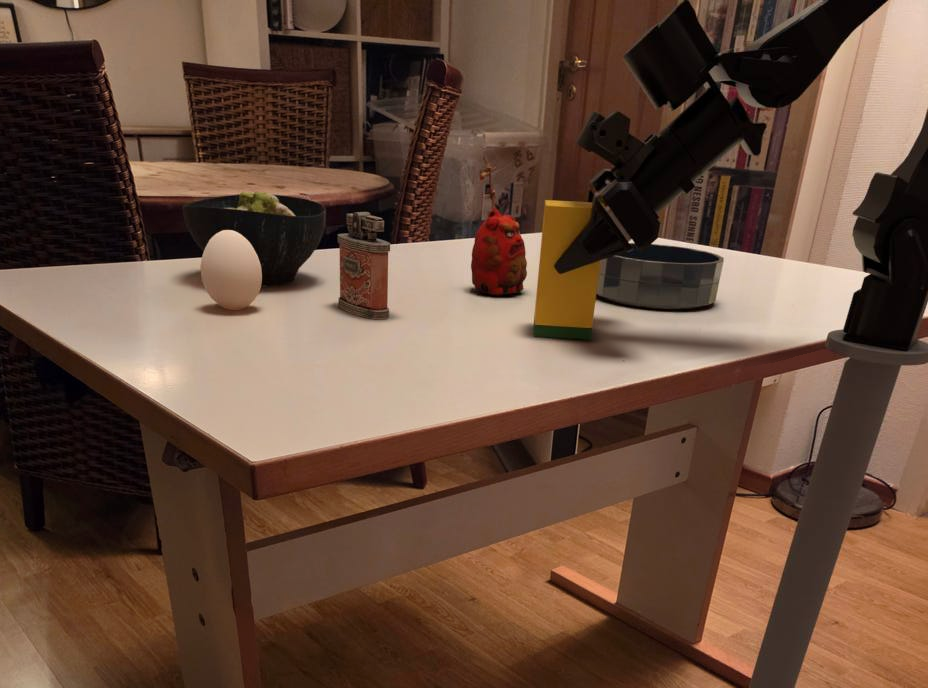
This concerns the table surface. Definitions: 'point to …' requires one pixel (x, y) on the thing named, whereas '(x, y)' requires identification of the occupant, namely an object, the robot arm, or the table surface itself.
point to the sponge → (564, 276)
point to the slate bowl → (661, 277)
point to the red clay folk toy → (498, 252)
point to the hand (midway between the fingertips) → (555, 265)
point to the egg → (231, 270)
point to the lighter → (364, 267)
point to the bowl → (262, 228)
